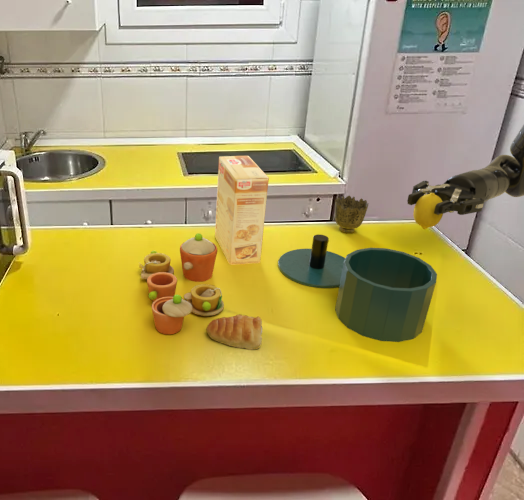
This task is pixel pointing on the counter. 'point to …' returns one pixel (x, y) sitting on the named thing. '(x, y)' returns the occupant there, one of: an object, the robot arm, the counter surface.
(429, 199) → the lemon
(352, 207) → the cup
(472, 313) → the counter surface
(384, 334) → the pot
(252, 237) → the coffeecake box
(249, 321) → the pastry
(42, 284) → the counter surface
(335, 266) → the lid
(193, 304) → the toy tea set
